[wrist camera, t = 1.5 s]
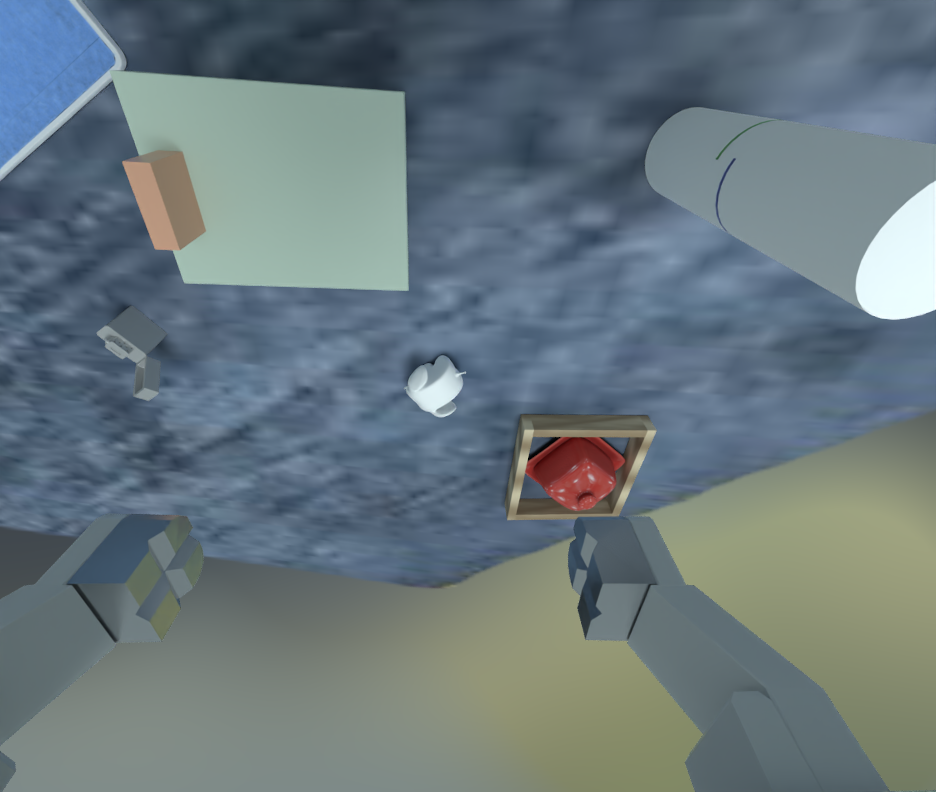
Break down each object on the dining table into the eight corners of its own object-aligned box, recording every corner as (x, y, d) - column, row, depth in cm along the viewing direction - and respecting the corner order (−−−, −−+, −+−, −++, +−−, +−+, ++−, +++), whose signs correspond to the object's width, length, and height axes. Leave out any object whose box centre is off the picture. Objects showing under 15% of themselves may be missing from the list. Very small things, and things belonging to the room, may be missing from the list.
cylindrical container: (631, 187, 40) (821, 305, 21) (669, 97, 36) (952, 136, 16) (698, 204, 42) (936, 330, 22) (741, 118, 37) (1086, 179, 18)
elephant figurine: (391, 365, 51) (387, 396, 46) (448, 333, 49) (450, 361, 44) (424, 402, 54) (423, 434, 50) (478, 374, 52) (483, 404, 48)
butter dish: (579, 416, 58) (598, 462, 51) (626, 455, 63) (649, 502, 56) (516, 462, 63) (526, 510, 56) (565, 495, 68) (579, 542, 61)
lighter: (121, 313, 45) (69, 354, 38) (131, 304, 44) (80, 344, 38) (182, 360, 49) (144, 405, 42) (192, 353, 48) (155, 397, 42)
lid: (126, 70, 26) (62, 71, 22) (405, 91, 28) (400, 96, 23) (194, 274, 34) (157, 306, 30) (409, 281, 36) (405, 313, 31)
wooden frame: (520, 414, 57) (524, 429, 54) (647, 415, 58) (656, 430, 56) (504, 503, 68) (507, 519, 65) (611, 502, 69) (617, 518, 67)
